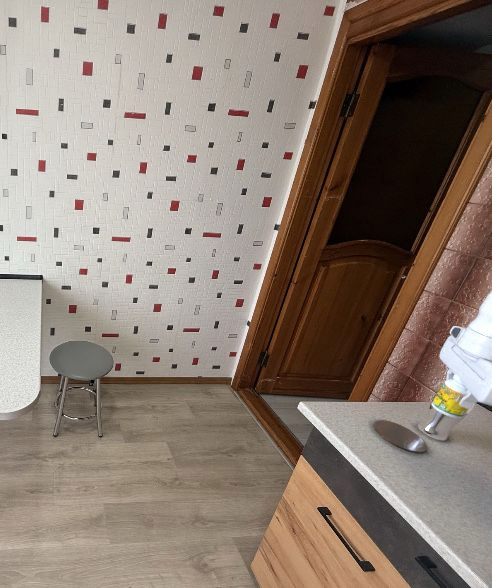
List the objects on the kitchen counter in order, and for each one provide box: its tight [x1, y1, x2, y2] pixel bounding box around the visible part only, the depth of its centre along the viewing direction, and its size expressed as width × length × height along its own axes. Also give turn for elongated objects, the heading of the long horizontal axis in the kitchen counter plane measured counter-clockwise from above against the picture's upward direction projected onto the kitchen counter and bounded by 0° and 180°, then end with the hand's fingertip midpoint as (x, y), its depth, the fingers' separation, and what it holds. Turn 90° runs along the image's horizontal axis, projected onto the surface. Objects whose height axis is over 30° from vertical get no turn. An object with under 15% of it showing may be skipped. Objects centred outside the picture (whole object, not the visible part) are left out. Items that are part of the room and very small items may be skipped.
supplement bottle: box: [430, 374, 468, 418], centre depth 76 cm, size 5×5×10 cm
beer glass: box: [417, 387, 476, 442], centre depth 92 cm, size 7×7×15 cm
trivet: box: [373, 419, 427, 454], centre depth 92 cm, size 11×11×1 cm
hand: (455, 396), depth 76 cm, fingers closed on supplement bottle, 5 cm apart
